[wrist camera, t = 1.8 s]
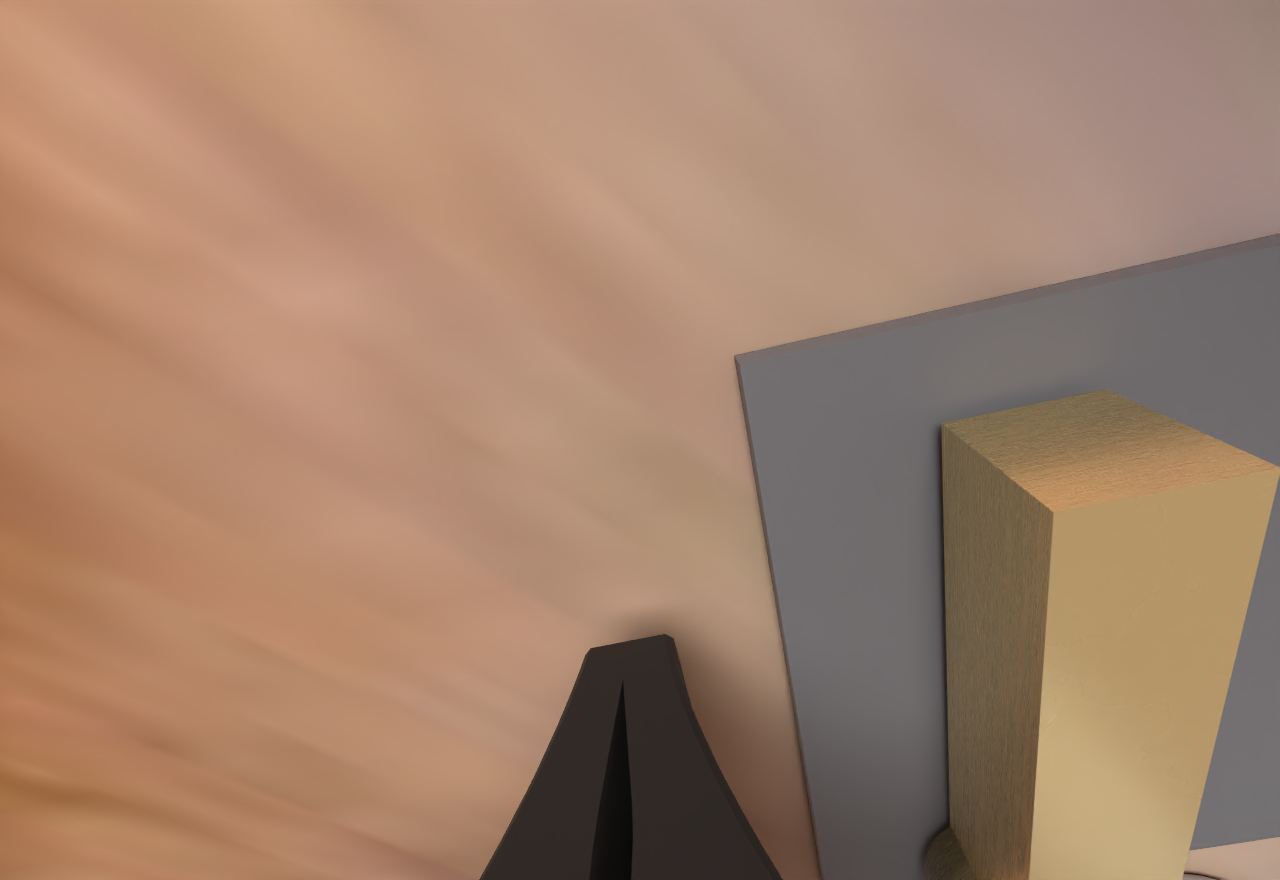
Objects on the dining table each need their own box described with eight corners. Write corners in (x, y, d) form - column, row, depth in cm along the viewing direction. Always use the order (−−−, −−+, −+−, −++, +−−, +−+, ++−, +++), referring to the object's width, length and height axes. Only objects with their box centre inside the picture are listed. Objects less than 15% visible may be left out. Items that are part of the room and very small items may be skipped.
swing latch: (1081, 889, 14) (1193, 1064, 11) (926, 912, 14) (997, 1089, 11) (1147, 380, 9) (1383, 473, 6) (901, 431, 9) (1020, 544, 6)
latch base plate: (1972, 78, 8) (2051, 73, 8) (1561, 768, 14) (1592, 789, 13) (734, 355, 9) (739, 364, 9) (822, 883, 15) (828, 905, 14)
